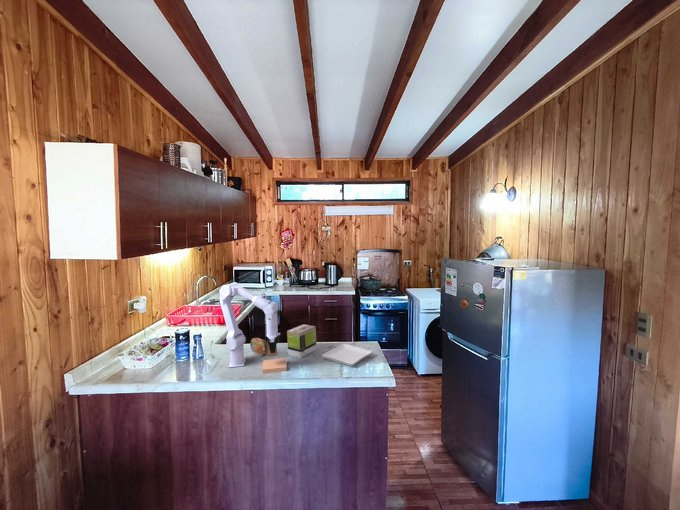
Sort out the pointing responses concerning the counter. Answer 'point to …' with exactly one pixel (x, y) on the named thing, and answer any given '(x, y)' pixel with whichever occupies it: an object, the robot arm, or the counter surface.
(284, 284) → the counter surface
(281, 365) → the terracotta trivet
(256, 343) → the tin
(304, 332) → the tea box
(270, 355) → the walnut block
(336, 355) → the salad plate
